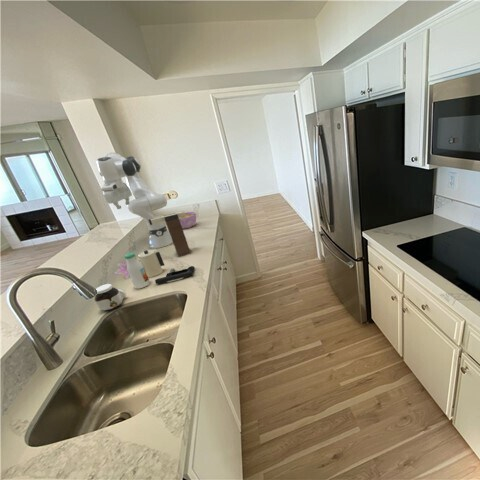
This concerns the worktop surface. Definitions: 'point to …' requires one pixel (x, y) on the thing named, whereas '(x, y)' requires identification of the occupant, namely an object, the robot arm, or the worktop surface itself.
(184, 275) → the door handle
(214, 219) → the worktop surface
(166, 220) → the stand
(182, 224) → the bowl of food
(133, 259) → the milk bottle
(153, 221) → the switch bar
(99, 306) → the spread jar
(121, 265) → the lily
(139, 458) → the worktop surface
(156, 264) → the kettle
